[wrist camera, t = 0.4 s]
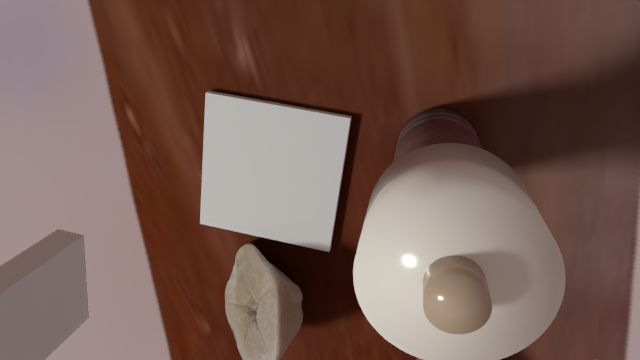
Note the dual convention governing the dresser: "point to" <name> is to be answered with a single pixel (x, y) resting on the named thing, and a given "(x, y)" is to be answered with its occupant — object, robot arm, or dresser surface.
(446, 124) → the can
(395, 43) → the dresser surface
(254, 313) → the stone
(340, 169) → the mat
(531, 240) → the cloche
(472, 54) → the dresser surface
